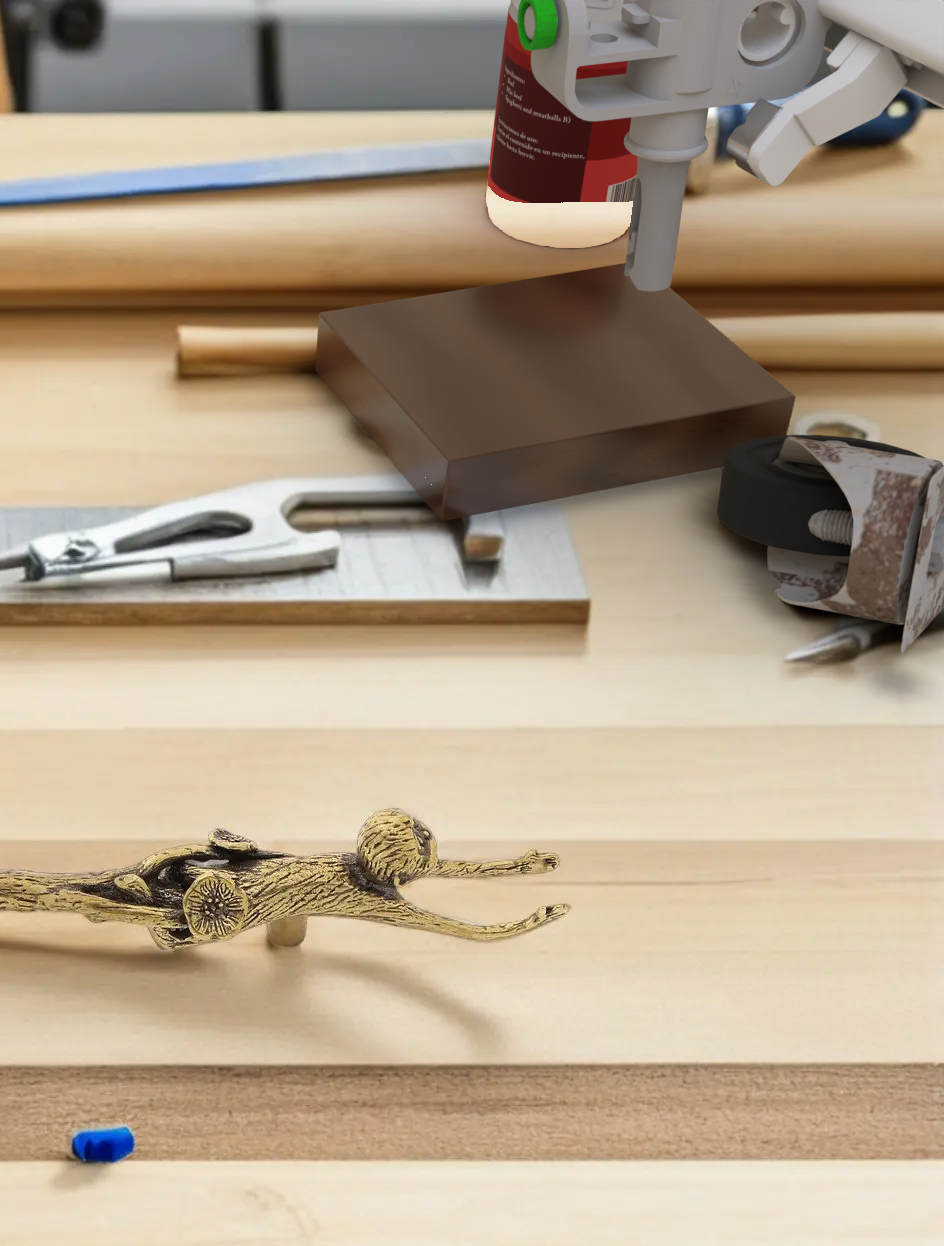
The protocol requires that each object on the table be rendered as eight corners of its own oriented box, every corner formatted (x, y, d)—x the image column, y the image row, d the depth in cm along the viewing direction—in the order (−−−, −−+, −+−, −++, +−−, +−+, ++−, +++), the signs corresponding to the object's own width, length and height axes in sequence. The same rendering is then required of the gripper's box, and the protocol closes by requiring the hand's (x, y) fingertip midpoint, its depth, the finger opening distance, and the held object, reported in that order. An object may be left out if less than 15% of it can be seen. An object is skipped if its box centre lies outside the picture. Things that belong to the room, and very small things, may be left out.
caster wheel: (749, 528, 89) (992, 572, 84) (652, 606, 80) (916, 659, 75) (770, 373, 86) (1023, 409, 81) (671, 436, 78) (947, 481, 73)
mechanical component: (486, 282, 70) (511, -26, 63) (769, 244, 71) (820, -59, 65) (520, 319, 67) (549, 4, 61) (810, 280, 69) (868, -31, 63)
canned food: (628, 189, 109) (666, -26, 101) (641, 258, 102) (681, 35, 95) (480, 181, 109) (507, -34, 102) (484, 250, 103) (512, 27, 96)
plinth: (628, 319, 98) (638, 260, 96) (781, 458, 89) (797, 396, 87) (313, 372, 94) (318, 312, 92) (440, 525, 84) (448, 461, 82)
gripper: (726, -385, 68) (450, -29, 71) (1264, -206, 55) (902, 221, 58) (793, -256, 73) (533, 74, 75) (1303, -63, 60) (968, 324, 63)
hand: (697, 140), depth 66 cm, fingers closed on mechanical component, 3 cm apart
